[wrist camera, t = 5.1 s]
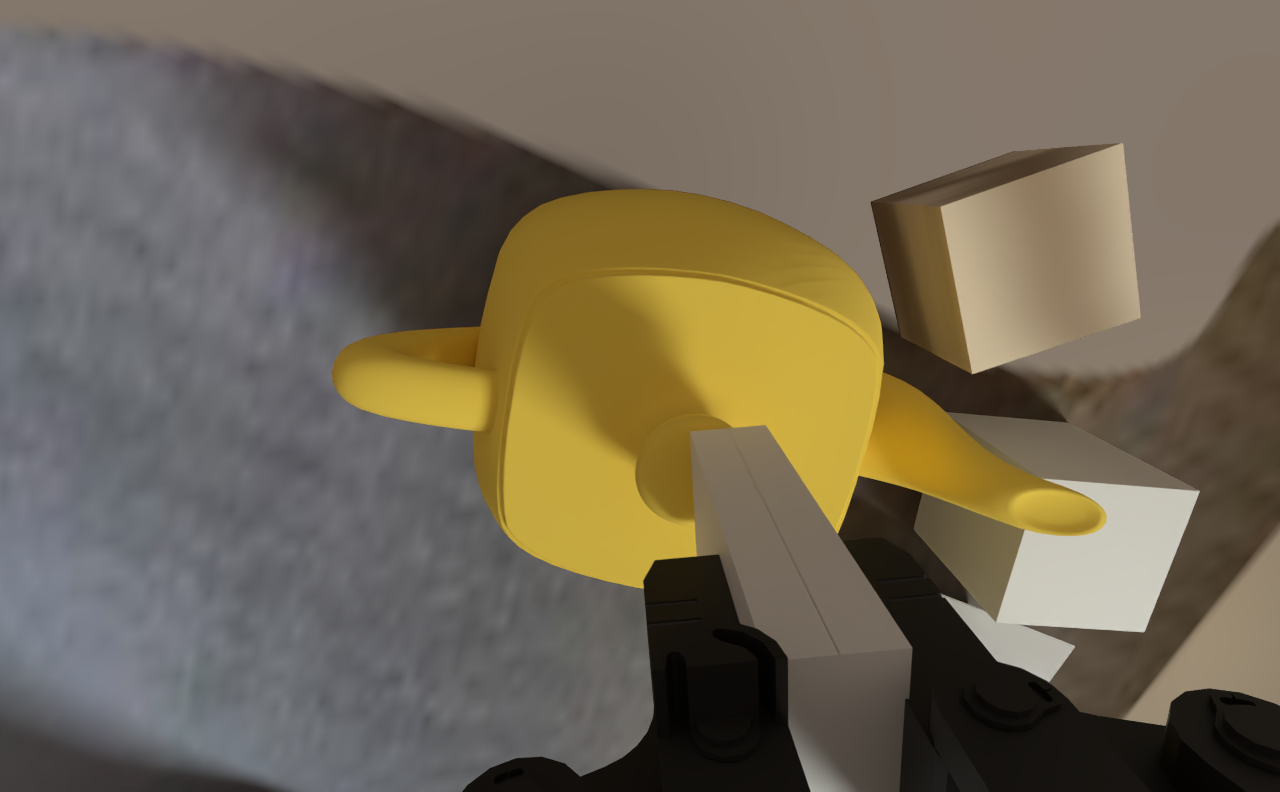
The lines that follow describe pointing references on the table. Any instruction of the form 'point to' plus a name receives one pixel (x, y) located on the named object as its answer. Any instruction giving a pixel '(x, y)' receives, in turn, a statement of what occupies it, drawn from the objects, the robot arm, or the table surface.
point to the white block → (1064, 565)
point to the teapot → (675, 381)
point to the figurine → (1015, 642)
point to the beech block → (1011, 254)
